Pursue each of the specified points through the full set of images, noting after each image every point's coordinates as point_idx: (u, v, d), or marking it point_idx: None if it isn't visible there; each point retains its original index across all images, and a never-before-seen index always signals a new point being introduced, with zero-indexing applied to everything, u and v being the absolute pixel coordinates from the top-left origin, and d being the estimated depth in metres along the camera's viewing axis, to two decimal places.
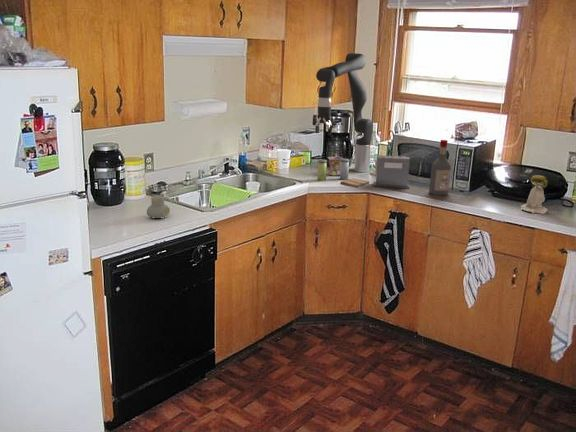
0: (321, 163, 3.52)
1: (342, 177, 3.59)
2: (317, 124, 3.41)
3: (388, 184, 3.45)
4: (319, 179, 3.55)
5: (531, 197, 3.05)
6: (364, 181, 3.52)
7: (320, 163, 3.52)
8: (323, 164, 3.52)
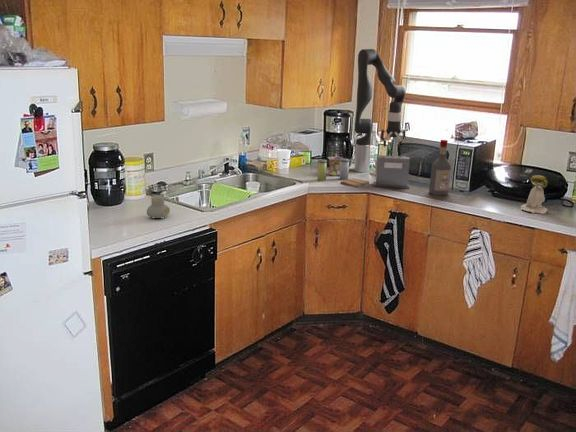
0: (321, 163, 3.52)
1: (342, 177, 3.59)
2: None
3: (388, 184, 3.45)
4: (319, 179, 3.55)
5: (531, 197, 3.05)
6: (364, 181, 3.52)
7: (320, 163, 3.52)
8: (323, 164, 3.52)
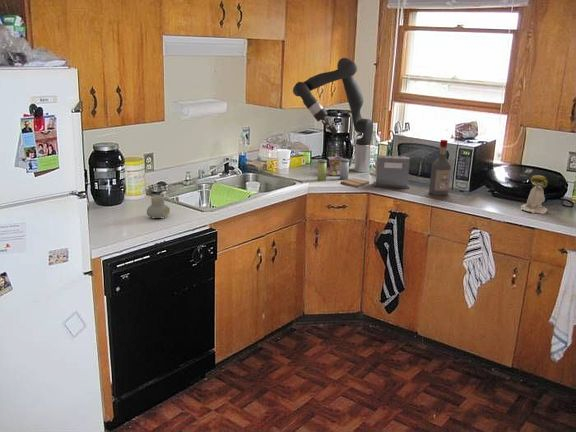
0: (321, 163, 3.52)
1: (342, 177, 3.59)
2: (331, 125, 3.42)
3: (388, 184, 3.45)
4: (319, 179, 3.55)
5: (531, 197, 3.05)
6: (364, 181, 3.52)
7: (320, 163, 3.52)
8: (323, 164, 3.52)
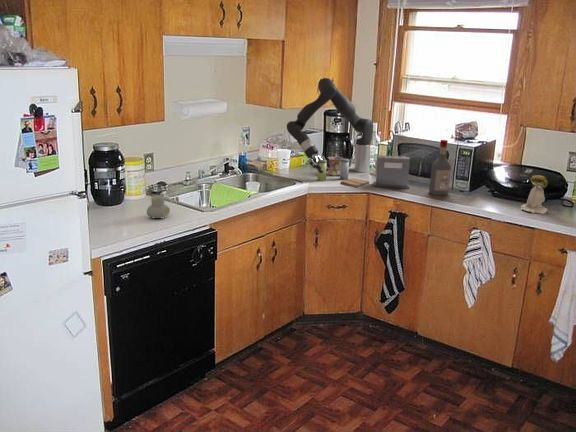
0: (321, 163, 3.52)
1: (342, 177, 3.59)
2: (318, 163, 3.53)
3: (388, 184, 3.45)
4: (319, 179, 3.55)
5: (531, 197, 3.05)
6: (364, 181, 3.52)
7: (320, 163, 3.52)
8: (323, 164, 3.52)
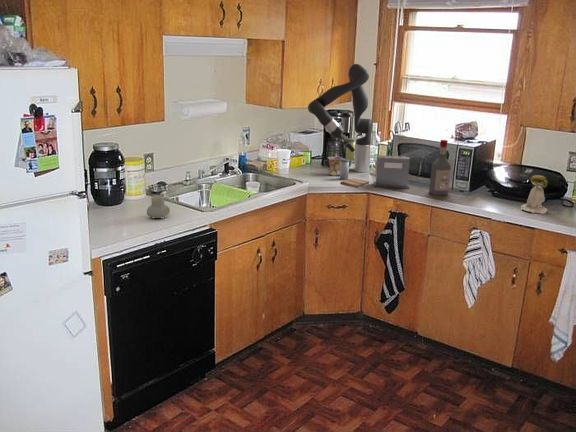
0: (352, 142, 3.42)
1: (342, 177, 3.59)
2: (348, 142, 3.42)
3: (388, 184, 3.45)
4: (350, 158, 3.45)
5: (531, 197, 3.05)
6: (364, 181, 3.52)
7: (351, 142, 3.42)
8: (354, 142, 3.43)
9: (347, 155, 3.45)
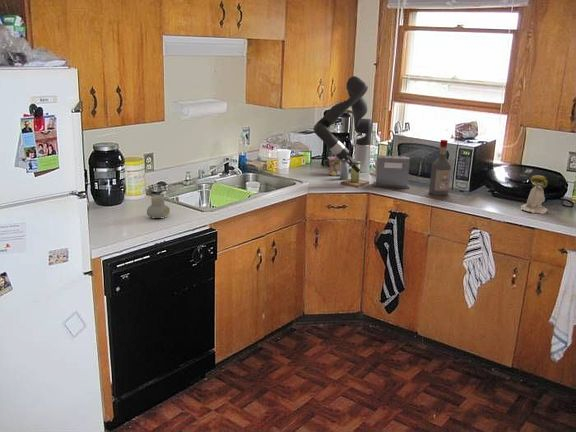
0: (358, 164, 3.46)
1: (342, 177, 3.59)
2: None
3: (388, 184, 3.45)
4: (355, 181, 3.48)
5: (531, 197, 3.05)
6: (364, 181, 3.52)
7: (357, 164, 3.45)
8: (359, 165, 3.46)
9: (352, 177, 3.48)
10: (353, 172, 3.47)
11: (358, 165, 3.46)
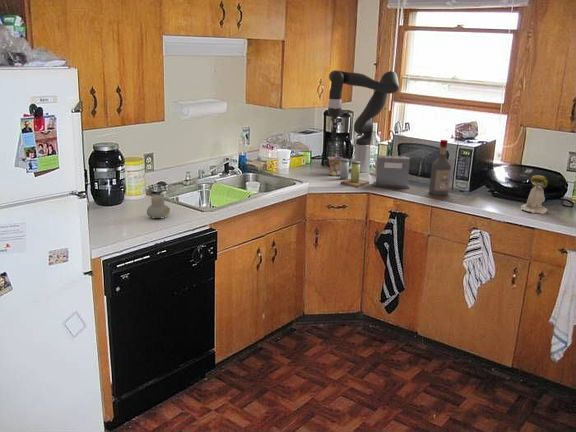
0: (358, 164, 3.46)
1: (342, 177, 3.59)
2: (336, 127, 3.38)
3: (388, 184, 3.45)
4: (355, 181, 3.48)
5: (531, 197, 3.05)
6: (364, 181, 3.52)
7: (357, 164, 3.45)
8: (359, 165, 3.46)
9: (352, 177, 3.48)
10: (353, 172, 3.47)
11: (358, 165, 3.46)
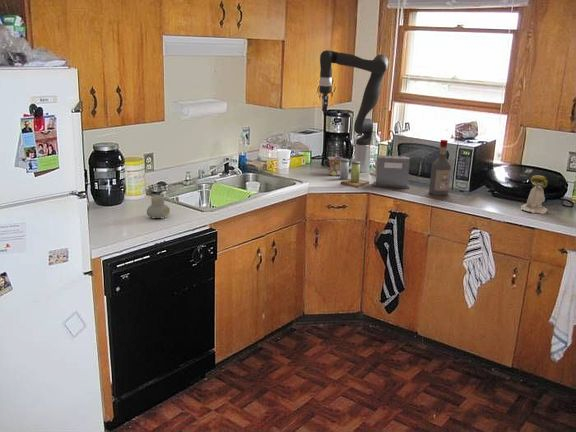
0: (357, 164, 3.45)
1: (342, 177, 3.59)
2: (327, 104, 3.57)
3: (388, 184, 3.45)
4: (355, 181, 3.48)
5: (531, 197, 3.05)
6: (364, 181, 3.52)
7: (356, 164, 3.45)
8: (359, 165, 3.46)
9: (352, 177, 3.48)
10: (353, 172, 3.47)
11: (358, 165, 3.46)
